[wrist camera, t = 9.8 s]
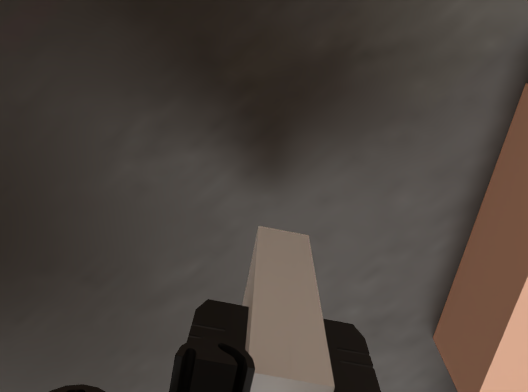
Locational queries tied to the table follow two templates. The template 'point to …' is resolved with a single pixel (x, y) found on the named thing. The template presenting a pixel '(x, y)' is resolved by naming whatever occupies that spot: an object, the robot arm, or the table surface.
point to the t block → (493, 280)
